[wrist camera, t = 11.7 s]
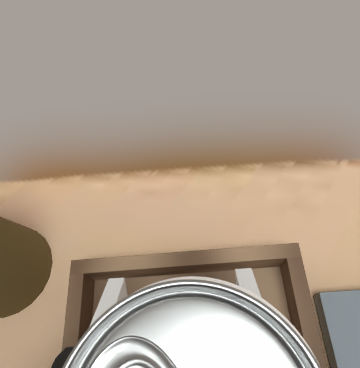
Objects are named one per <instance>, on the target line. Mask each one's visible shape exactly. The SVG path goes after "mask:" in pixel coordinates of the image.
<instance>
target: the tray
mask: <svg viewBox="0 0 360 368" xmlns="http://www.w3.org/2000/svg"><path fill="white" fill-rule="evenodd" d="M244 268H252V271H253V274H254V277H255V280H256V283H257V286H258V289H259V292H260V295H261V298H263V299H264V300H265V301H267V302H268V303H270V304H271V305H272V306H273V307H275V308H276V309H277V310H278V311H279V312H280V313H281V314H283V315H284V316H285V317H286V318H287V319H288V320H289V322H290V323H291V324H292V325H293V326H294V327H295V328H296V329H297V331H298V332H299V333H300V334H301V336H302V337H303V339H304V340H305V341H306V343H307V344H308V346H309V347H310V349H311V351H312V352H313V354H314V356H315V357H316V359H317V361H318V363H319V365H320V367H321V368H327V365H326V360H325V356H324V352H323V348H322V343H321V339H320V335H319V330H318V326H317V322H316V317H315V313H314V309H313V304H312V300H311V296H310V291H309V287H308V283H307V278H306V274H305V270H304V266H303V261H302V257H301V253H300V248H299V244H298V243H290V244H277V245H264V246H251V247H238V248H225V249H212V250H200V251H187V252H174V253H161V254H148V255H135V256H122V257H109V258H96V259H84V260H71V268H70V278H69V287H68V297H67V307H66V316H65V326H64V336H63V345H62V351H63V350H64V349H65V348H66V347H75V345H76V344H77V342H78V341H79V339H80V338H81V337H82V335H83V334H84V333H85V332H86V330H87V329H88V328H89V326H90V324H91V321H92V319H93V316H94V314H95V312H96V309H97V307H98V304H99V302H100V299H101V297H102V294H103V292H104V289H105V287H106V284H107V282H108V279H110V278H125V283H126V289H127V295H130V294H132V293H134V292H135V291H137V290H139V289H141V288H143V287H145V286H148V285H150V284H153V283H156V282H159V281H162V280H166V279H171V278H177V277H188V276H197V277H209V278H215V279H219V280H223V281H227V282H230V283H233V284H236V278H235V269H244Z"/></svg>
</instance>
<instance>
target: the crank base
mask: <svg viewBox="0 0 360 368" xmlns="http://www.w3.org/2000/svg"><path fill="white" fill-rule="evenodd" d="M314 300H315V304H316V309H317V313H318V317H319V321H320V326H321V330H322V334H323V338H324V343H325V347H326V351H327V355H328V360H329V364H330V368H360V290H351V291H337V292H322V293H318V294H316V295H314Z"/></svg>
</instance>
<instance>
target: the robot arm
mask: <svg viewBox="0 0 360 368" xmlns="http://www.w3.org/2000/svg"><path fill="white" fill-rule="evenodd" d="M235 278H236V285H238V286H241V287H243V288H245V289H247V290H249V291H251V292H253V293H255V294H256V295H258V296H259V297H261V295H260V292H259V289H258V286H257V283H256V280H255V277H254V274H253V271H252V268H244V269H235ZM127 296H128V295H127V289H126V283H125V278H110V279H108V282H107V284H106V287H105V289H104V292H103V294H102V297H101V299H100V302H99V304H98V307H97V309H96V312H95V314H94V316H93V319H92V321H91V324H90V326H91V325H92V324H93V323H94V322H95V321H96V320H97V319H98V318H99V317H100V316H101V315H102V314H103V313H104V312H105V311H107V310H108V309H109V308H110V307H112V306H113V305H114V304H116V303H117V302H119V301H120V300H122V299H123V298H125V297H127ZM90 326H89V327H90ZM73 348H74V347H66V348H65V349H64V350H63V351H62V352H61V353H60V354H59V355H58V356H57V357H56V359H55V361H54V363H53V365H52V367H51V368H62V367H63V365H64V363H65V362H66V360H67V358H68V356H69V354H70V353H71V351H72V350H73Z"/></svg>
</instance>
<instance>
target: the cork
mask: <svg viewBox="0 0 360 368" xmlns="http://www.w3.org/2000/svg"><path fill="white" fill-rule="evenodd" d="M51 267H52V255H51V249H50V247H49V245H48V243H47V241H46V239H45V238H44V237H43V236H41V235H40V234H39V233H38V232H37V231H34V230H32V229H29V228H27V227H24V226H22V225H19V224H17V223H14V222H12V221H9V220H7V219H4V218H2V217H0V318H4V317H7V316H10V315H13V314H16V313H18V312H20V311H21V310H23V309H24V308H26V307H27V306H29V305H30V304H31V303H32V302H33V301H34V300H35V299H36V298H37V297H38V296H39V294H40V293H41V292H42V291H43V289H44V287H45V285H46V283H47V281H48V279H49V277H50V272H51Z"/></svg>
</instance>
